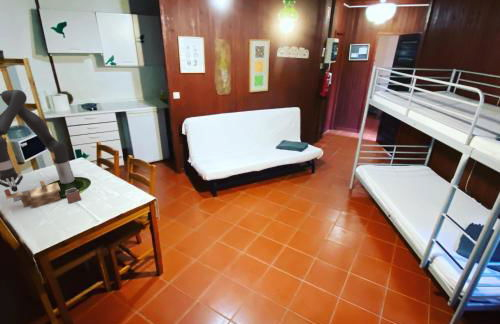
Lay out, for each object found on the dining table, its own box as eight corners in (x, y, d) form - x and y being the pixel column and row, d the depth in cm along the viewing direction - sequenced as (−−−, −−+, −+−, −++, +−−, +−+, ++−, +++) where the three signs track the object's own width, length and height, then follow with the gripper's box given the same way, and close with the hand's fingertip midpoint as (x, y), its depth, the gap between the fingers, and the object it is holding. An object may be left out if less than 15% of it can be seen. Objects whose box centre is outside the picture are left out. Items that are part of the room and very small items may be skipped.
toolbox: (58, 192, 189) (55, 182, 186) (61, 199, 181) (57, 189, 178) (23, 202, 177) (19, 192, 174) (24, 210, 169) (20, 199, 166)
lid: (57, 183, 187) (55, 176, 184) (60, 190, 179) (58, 182, 177) (29, 191, 177) (26, 183, 175) (31, 198, 169) (28, 190, 167)
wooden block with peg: (22, 193, 171) (19, 186, 169) (23, 195, 170) (19, 187, 167) (6, 198, 166) (3, 190, 164) (7, 199, 165) (3, 191, 162)
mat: (44, 186, 196) (44, 186, 196) (46, 193, 188) (45, 192, 188) (13, 194, 186) (13, 193, 185) (13, 201, 178) (13, 201, 177)
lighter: (80, 197, 184) (77, 185, 180) (82, 199, 182) (78, 187, 178) (67, 202, 179) (63, 189, 175) (68, 204, 177) (64, 191, 173)
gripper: (18, 162, 166) (28, 185, 174) (-10, 168, 158) (1, 192, 166) (19, 166, 161) (28, 190, 169) (-10, 172, 153) (1, 197, 161)
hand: (15, 191), depth 167 cm, fingers closed
